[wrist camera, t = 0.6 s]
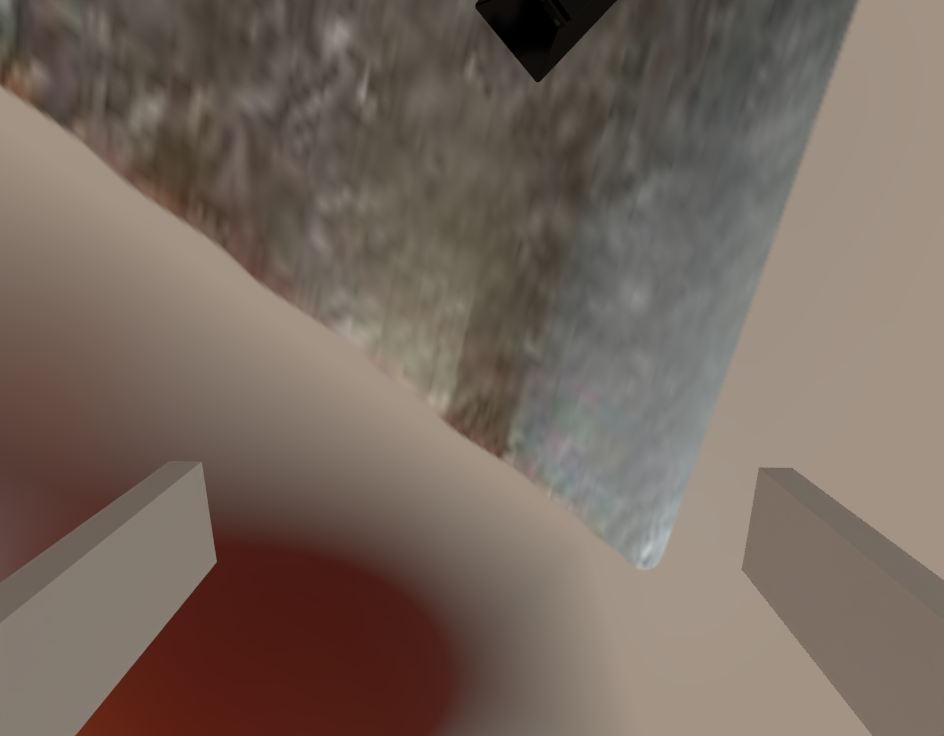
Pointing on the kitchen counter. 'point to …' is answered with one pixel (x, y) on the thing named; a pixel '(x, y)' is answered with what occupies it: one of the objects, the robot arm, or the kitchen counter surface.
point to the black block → (541, 28)
